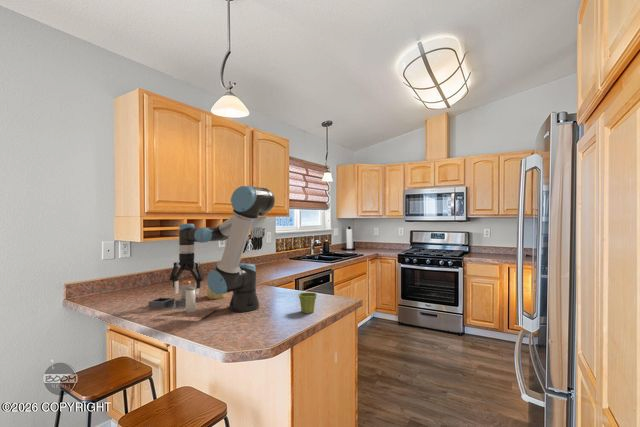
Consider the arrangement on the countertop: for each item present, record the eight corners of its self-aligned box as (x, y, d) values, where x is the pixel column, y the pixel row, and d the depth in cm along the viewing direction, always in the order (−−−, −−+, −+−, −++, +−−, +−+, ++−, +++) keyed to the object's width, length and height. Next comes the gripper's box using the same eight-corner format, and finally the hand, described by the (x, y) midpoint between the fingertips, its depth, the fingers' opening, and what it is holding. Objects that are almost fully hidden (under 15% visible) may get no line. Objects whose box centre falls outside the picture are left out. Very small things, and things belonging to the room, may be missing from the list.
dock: (198, 304, 172) (198, 296, 172) (183, 312, 158) (183, 303, 158) (164, 303, 175) (164, 295, 175) (147, 310, 161) (147, 301, 162)
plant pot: (299, 309, 164) (299, 292, 164) (317, 309, 163) (317, 292, 163) (297, 314, 154) (297, 296, 154) (316, 314, 154) (316, 296, 154)
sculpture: (213, 303, 175) (213, 283, 175) (203, 299, 183) (203, 280, 183) (232, 299, 183) (232, 280, 184) (221, 296, 192) (221, 278, 192)
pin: (192, 302, 171) (192, 280, 171) (188, 304, 167) (188, 282, 167) (185, 302, 171) (185, 280, 172) (180, 304, 167) (180, 282, 167)
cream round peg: (197, 312, 157) (197, 286, 158) (192, 315, 153) (192, 288, 153) (188, 312, 158) (189, 286, 158) (183, 315, 154) (183, 288, 154)
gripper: (210, 252, 171) (210, 293, 171) (171, 251, 175) (170, 291, 175) (203, 253, 164) (203, 296, 163) (162, 253, 167) (161, 294, 167)
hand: (186, 294), depth 169 cm, fingers open, 11 cm apart
